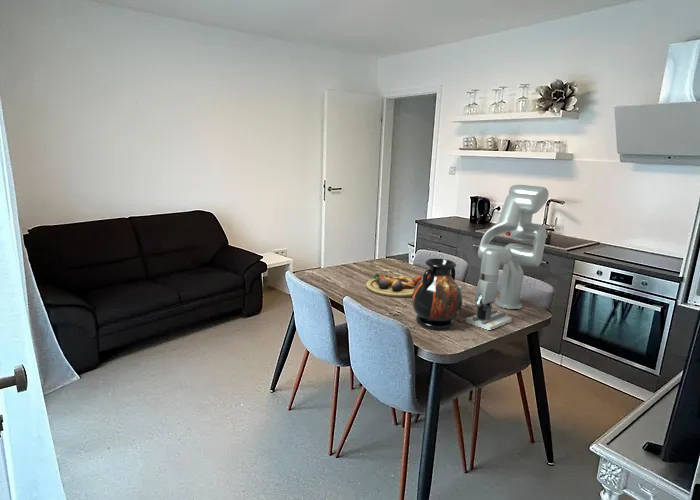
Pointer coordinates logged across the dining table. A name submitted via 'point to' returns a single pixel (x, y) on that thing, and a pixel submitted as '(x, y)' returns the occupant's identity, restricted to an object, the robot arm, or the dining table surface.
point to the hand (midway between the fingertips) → (483, 316)
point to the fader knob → (488, 312)
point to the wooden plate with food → (392, 285)
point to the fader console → (489, 320)
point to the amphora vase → (437, 296)
